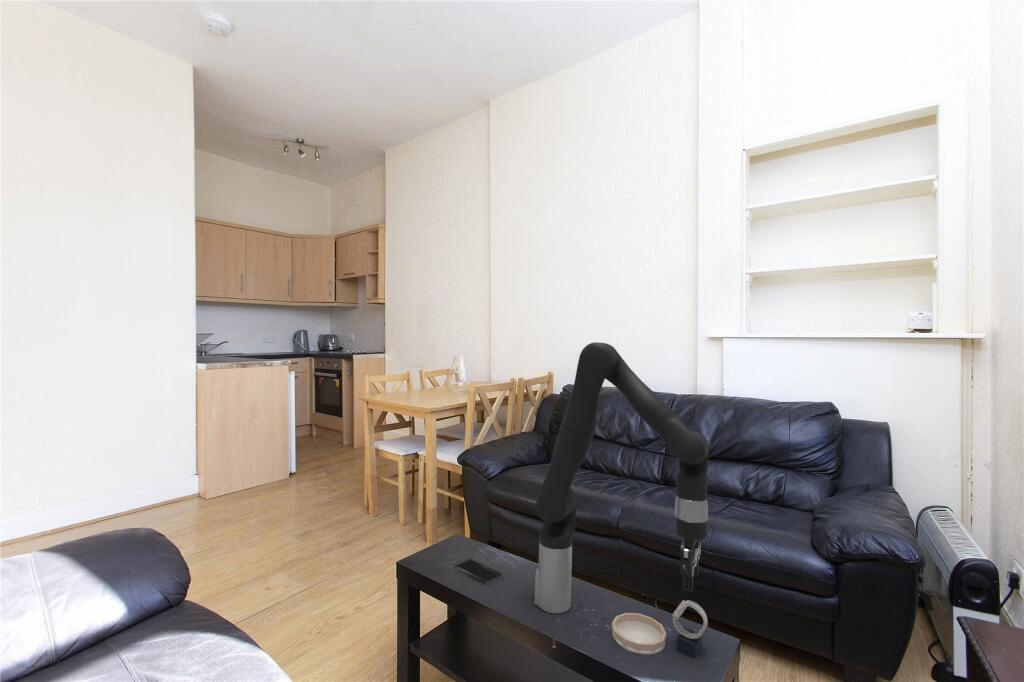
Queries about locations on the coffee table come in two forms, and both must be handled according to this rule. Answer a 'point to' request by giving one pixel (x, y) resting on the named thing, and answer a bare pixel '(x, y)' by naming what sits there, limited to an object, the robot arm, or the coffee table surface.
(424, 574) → the coffee table surface
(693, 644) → the watch
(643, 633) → the dish
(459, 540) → the coffee table surface
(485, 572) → the phone
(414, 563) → the coffee table surface
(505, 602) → the coffee table surface
